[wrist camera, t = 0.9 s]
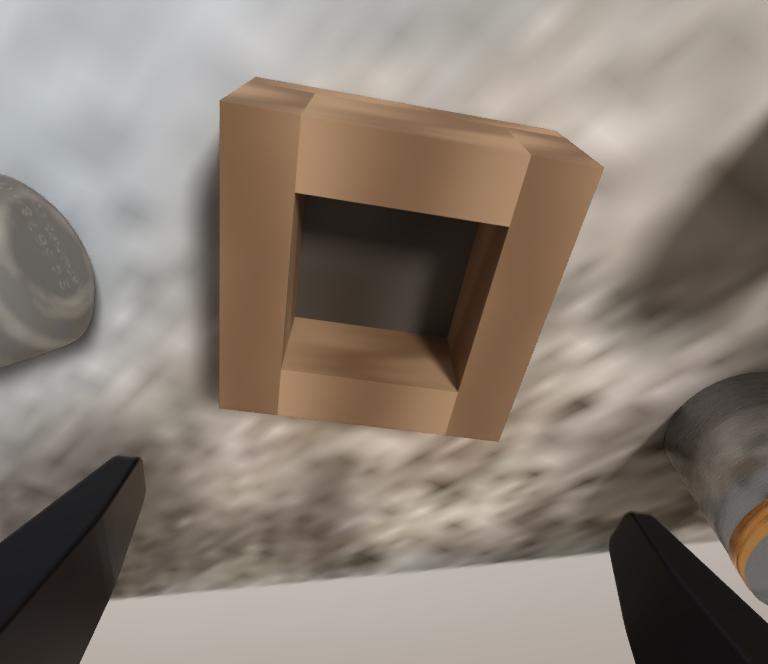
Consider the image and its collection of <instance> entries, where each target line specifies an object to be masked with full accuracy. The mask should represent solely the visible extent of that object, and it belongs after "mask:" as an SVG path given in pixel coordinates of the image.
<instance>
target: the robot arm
mask: <svg viewBox="0 0 768 664" xmlns="http://www.w3.org/2000/svg"><path fill="white" fill-rule="evenodd" d="M145 491H146V487H145V478H144V468H143V461H142V459H141V458H140V457H137V456H128V455H117V456H114V457H113V458H111V459H110V460H109V461H107V462H106V463H105V464H103V465H102V466H101V467H99V468H98V469H97V470H95V471H94V472H93V473H91V474H90V475H89V476H88V477H86V478H85V479H84V480H82V481H81V482H80V483H78V484H77V485H76V486H74V487H73V488H72V489H70V490H69V491H68V492H66V493H65V494H64V495H62V496H61V497H60V498H59V499H57V500H56V501H55V502H53V503H52V504H51V505H49V506H48V507H47V508H45V509H44V510H43V511H41V512H40V513H39V514H37V515H36V516H35V517H34V518H32V519H31V520H30V521H28V522H27V523H26V524H24V525H23V526H22V527H20V528H19V529H18V530H16V531H15V532H14V533H12V534H11V535H10V536H8V537H7V538H6V539H5V540H3V541H2V542H1V543H0V664H79V663H80V661H81V659H82V657H83V655H84V653H85V650H86V648H87V646H88V644H89V642H90V640H91V637H92V635H93V633H94V631H95V629H96V627H97V625H98V622H99V620H100V618H101V616H102V614H103V611H104V609H105V607H106V605H107V603H108V601H109V598H110V596H111V594H112V591H113V589H114V587H115V584H116V582H117V579H118V576H119V573H120V570H121V567H122V564H123V561H124V558H125V555H126V552H127V549H128V546H129V543H130V541H131V538H132V535H133V532H134V529H135V526H136V523H137V520H138V517H139V514H140V511H141V508H142V505H143V502H144V498H145ZM609 552H610V557H611V562H612V567H613V572H614V576H615V581H616V586H617V591H618V596H619V601H620V606H621V611H622V616H623V620H624V625H625V629H626V633H627V636H628V640H629V643H630V647H631V650H632V653H633V657H634V660H635V663H636V664H768V623H767V622H766V621H765V620H764V619H763V618H762V617H761V616H759V615H758V614H757V613H756V612H755V611H754V610H753V609H752V608H751V607H750V606H749V605H748V604H746V603H745V602H744V601H743V600H742V599H741V598H740V597H739V596H738V595H737V594H736V593H735V592H734V591H733V590H732V589H730V588H729V587H728V586H727V585H726V584H725V583H724V582H723V581H721V579H720V578H718V576H716V575H715V574H714V573H713V572H712V571H711V570H710V569H709V568H708V567H707V566H706V565H705V564H704V563H702V562H701V561H700V560H699V559H698V558H697V557H696V556H695V555H694V554H693V553H692V552H691V551H690V550H689V549H687V548H686V547H685V546H684V545H683V544H682V543H681V542H680V541H679V540H678V539H677V538H676V537H675V536H674V535H672V534H671V533H670V532H669V531H668V530H667V529H666V528H665V527H664V526H663V525H662V524H661V523H660V522H659V521H657V520H656V519H655V518H654V517H653V516H652V515H650V514H647V513H641V512H632V511H631V512H627V513H626V514H625V515H624V516H623V518H622V519H621V521H620V522H619V524H618V526H617V527H616V529H615V530H614V532H613V534H612V535H611V537H610V541H609Z"/></svg>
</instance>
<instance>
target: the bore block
mask: <svg viewBox="0 0 768 664" xmlns="http://www.w3.org/2000/svg"><path fill="white" fill-rule="evenodd" d="M603 169H604V167H603V166H601V165H600V164H599V163H597V162H596V161H595V160H594V159H592V158H591V157H590V156H588V155H587V154H586V153H584V152H583V151H582V150H580V149H579V148H578V147H576V146H575V145H574V144H573V143H571V142H570V141H569V140H567V139H566V138H565V137H563V136H562V135H561V134H559V133H558V132H557V131H554V130H548V129H542V128H537V127H531V126H526V125H520V124H515V123H509V122H503V121H498V120H492V119H487V118H481V117H476V116H470V115H464V114H459V113H453V112H448V111H442V110H437V109H431V108H425V107H420V106H414V105H409V104H403V103H398V102H392V101H386V100H381V99H375V98H370V97H364V96H359V95H353V94H347V93H342V92H336V91H331V90H325V89H320V88H314V87H308V86H303V85H297V84H292V83H286V82H281V81H275V80H269V79H264V78H258V77H255V78H254V79H252V80H251V81H249V82H247V83H246V84H244V85H243V86H241V87H240V88H238V89H237V90H235V91H234V92H232V93H231V94H229V95H228V96H226V97H225V98H223V99H222V100H220V282H219V408H222V409H230V410H239V411H247V412H255V413H264V414H272V415H280V416H289V417H297V418H305V419H314V420H322V421H330V422H339V423H347V424H355V425H364V426H372V427H380V428H389V429H397V430H405V431H414V432H422V433H430V434H439V435H447V436H455V437H464V438H472V439H480V440H489V441H497V442H499V439H500V436H501V434H502V431H503V429H504V426H505V423H506V421H507V418H508V416H509V413H510V410H511V408H512V405H513V403H514V400H515V398H516V395H517V392H518V390H519V387H520V385H521V382H522V379H523V377H524V374H525V372H526V369H527V366H528V364H529V361H530V359H531V356H532V353H533V351H534V348H535V346H536V343H537V340H538V338H539V335H540V333H541V330H542V327H543V325H544V322H545V320H546V317H547V314H548V312H549V309H550V307H551V304H552V301H553V299H554V296H555V294H556V291H557V289H558V286H559V283H560V281H561V278H562V276H563V273H564V270H565V268H566V265H567V263H568V260H569V257H570V255H571V252H572V250H573V247H574V244H575V242H576V239H577V237H578V234H579V231H580V229H581V226H582V224H583V221H584V218H585V216H586V213H587V211H588V208H589V205H590V203H591V200H592V198H593V195H594V193H595V190H596V187H597V185H598V182H599V180H600V177H601V174H602V172H603Z"/></svg>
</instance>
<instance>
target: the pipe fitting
mask: <svg viewBox="0 0 768 664" xmlns="http://www.w3.org/2000/svg"><path fill="white" fill-rule="evenodd" d="M94 298H95V283H94V276H93V271H92V267H91V263H90V260H89V257H88V255H87V252H86V250H85V248H84V246H83V244H82V242H81V240H80V239H79V237H78V235H77V234H76V232H75V231H74V229H73V228H72V226H71V225H70V223H69V222H68V221H67V220H66V218H65V217H64V216H63V215H62V214H61V213H60V212H59V211H58V210H57V209H56V208H55V207H54V206H53V205H52V204H51V203H50V202H49V201H48V200H46V199H45V198H44V197H43V196H41V195H40V194H39V193H37V192H36V191H34V190H33V189H32V188H30V187H28V186H27V185H25V184H24V183H22V182H20V181H18V180H16V179H14V178H11V177H9V176H6V175H2V174H0V368H1V367H4V366H7V365H10V364H14V363H17V362H20V361H23V360H26V359H29V358H32V357H36V356H38V355H41V354H44V353H47V352H50V351H52V350H55V349H58V348H61V347H63V346H66V345H68V344H70V343H72V342H74V341H75V340H77V339H78V338H79V337H81V336H82V334H83V333H84V332H85V331H86V329H87V327H88V325H89V323H90V321H91V318H92V314H93V308H94Z"/></svg>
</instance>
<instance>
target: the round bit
mask: <svg viewBox="0 0 768 664" xmlns="http://www.w3.org/2000/svg"><path fill="white" fill-rule="evenodd" d="M664 448H665V452H666V454H667V456H668V458H669V460H670V462H671V463H672V465H673V466H674V468H675V470H676V471H677V473H678V474H679V476H680V478H681V479H682V481H683V482H684V484H685V486H686V487H687V489H688V490H689V492H690V494H691V495H692V497H693V498H694V500H695V502H696V503H697V505H698V506H699V508H700V510H701V511H702V513H703V514H704V516H705V518H706V519H707V521H708V522H709V524H710V526H711V527H712V529H713V530H714V532H715V534H716V535H717V537H718V538H719V540H720V542H721V543H722V544H723V546H724V548H725V550H726V551H727V553H728V554H729V557H730V559H731V561H732V563H733V565H734V566H735V568H736V569H737V571H738V573H739V574H740V576H741V577H742V579H743V581H744V582H745V584H746V586H747V587H748V588H749V590H750V591H752V593H753V594H754V595H755V597H756V598H758V599H759V600H760V601H761V602H763V603H765V604H767V605H768V373H767V372H760V373H749V374H743V375H738V376H734V377H731V378H728V379H725V380H722V381H720V382H717V383H715V384H713V385H711V386H709V387H707V388H705V389H704V390H702V391H700V392H699V393H697V394H696V395H694V396H693V397H692V398H690V399H689V400H688V401H687V402H686V403H685V404H684V405H683V406H682V407H681V408H680V409H679V410H678V411H677V412H676V413H675V415H674V416H673V418H672V419H671V421H670V423H669V425H668V427H667V430H666V432H665V437H664Z"/></svg>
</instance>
